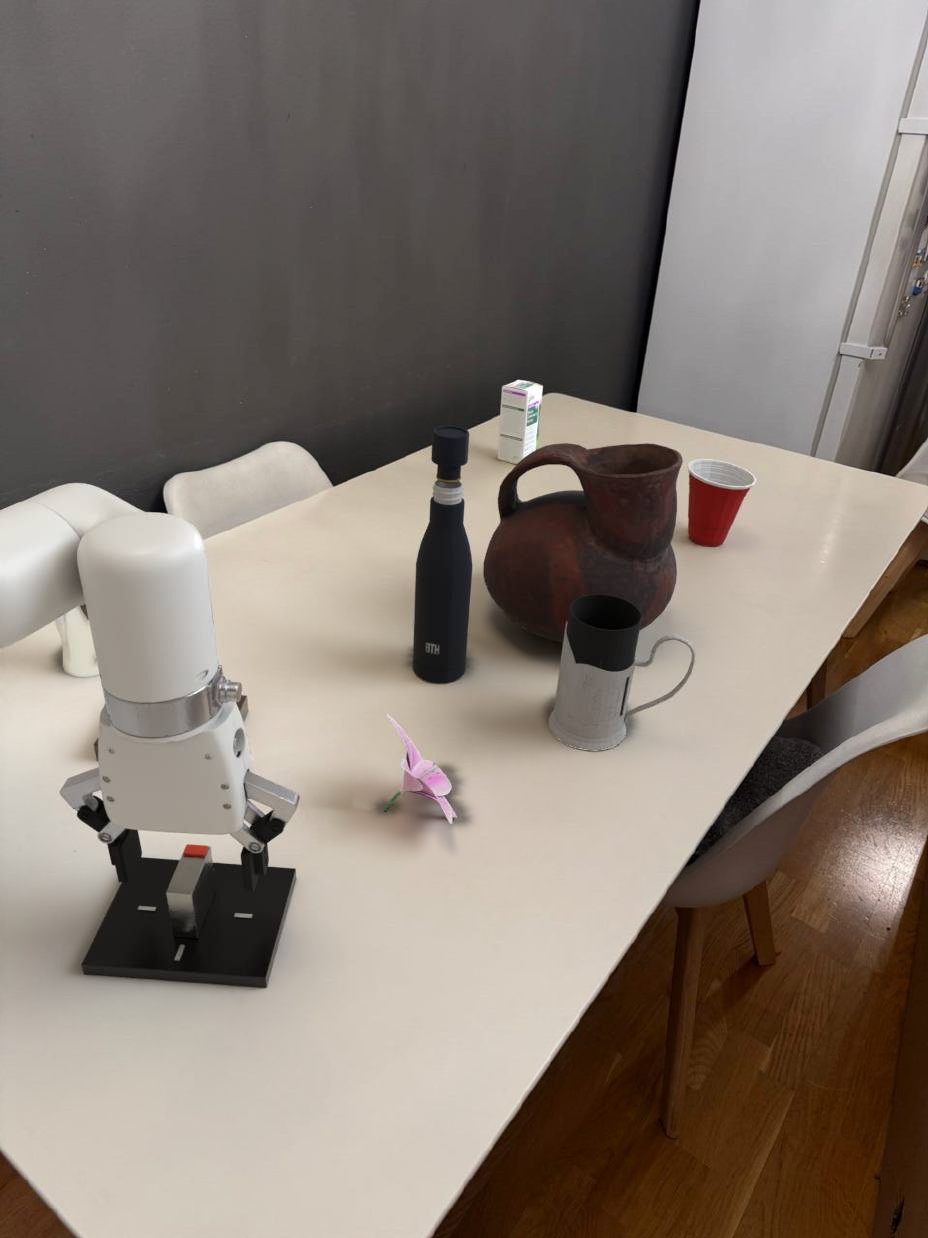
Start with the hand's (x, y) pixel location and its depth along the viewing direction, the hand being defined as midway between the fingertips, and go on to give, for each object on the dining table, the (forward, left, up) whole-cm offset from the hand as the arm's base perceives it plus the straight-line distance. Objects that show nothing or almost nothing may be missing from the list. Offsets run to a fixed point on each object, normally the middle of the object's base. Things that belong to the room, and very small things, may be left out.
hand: (192, 873), depth 69 cm
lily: (+17, +16, -7) cm, 24 cm away
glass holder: (+37, +31, -7) cm, 49 cm away
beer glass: (-24, +37, -7) cm, 45 cm away
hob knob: (0, 0, -5) cm, 5 cm away
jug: (+34, +55, -7) cm, 65 cm away
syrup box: (+27, +115, -7) cm, 118 cm away
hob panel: (0, 0, -7) cm, 7 cm away
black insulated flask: (+17, +41, -7) cm, 45 cm away
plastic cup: (+58, +84, -7) cm, 102 cm away
